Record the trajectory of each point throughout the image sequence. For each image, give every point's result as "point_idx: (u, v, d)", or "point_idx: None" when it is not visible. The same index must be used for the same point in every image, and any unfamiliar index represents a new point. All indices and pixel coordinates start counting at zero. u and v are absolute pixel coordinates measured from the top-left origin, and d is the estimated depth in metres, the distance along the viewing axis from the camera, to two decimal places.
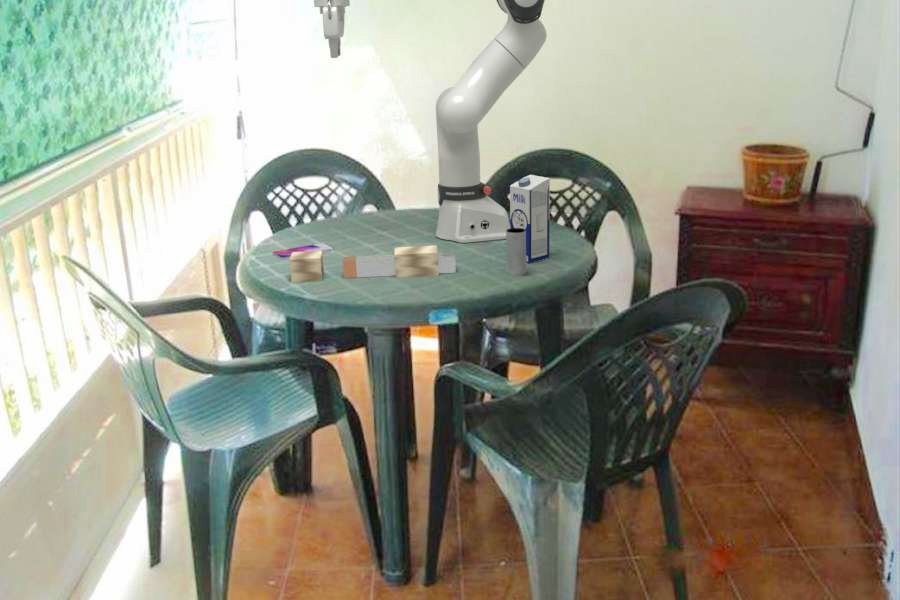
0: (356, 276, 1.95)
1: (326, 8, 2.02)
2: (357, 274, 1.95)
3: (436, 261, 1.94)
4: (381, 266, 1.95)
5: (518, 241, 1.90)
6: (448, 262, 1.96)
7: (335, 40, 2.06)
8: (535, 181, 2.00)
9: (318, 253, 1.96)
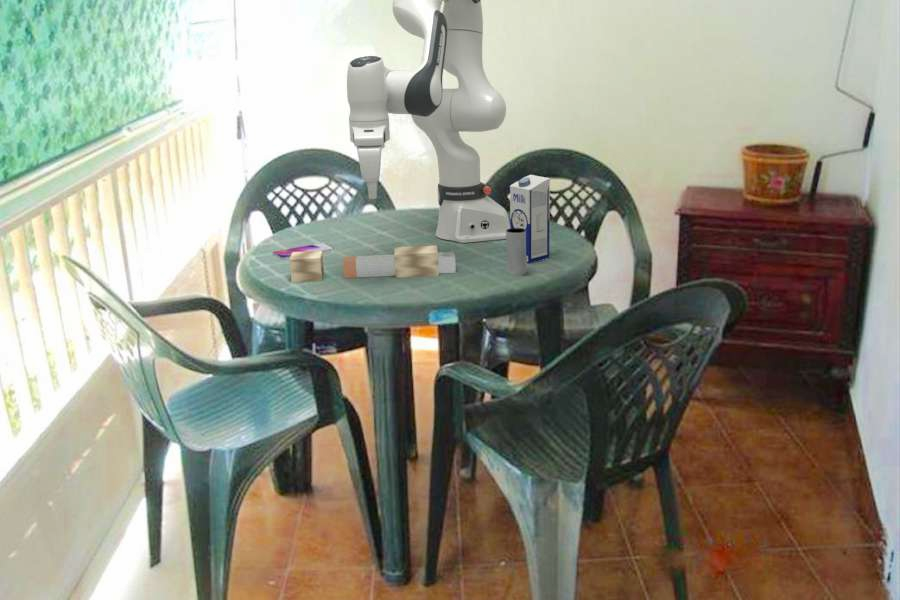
0: (356, 276, 1.95)
1: None
2: (357, 274, 1.95)
3: (436, 261, 1.94)
4: (381, 266, 1.95)
5: (518, 241, 1.90)
6: (448, 262, 1.96)
7: None
8: (535, 181, 2.00)
9: (318, 253, 1.96)
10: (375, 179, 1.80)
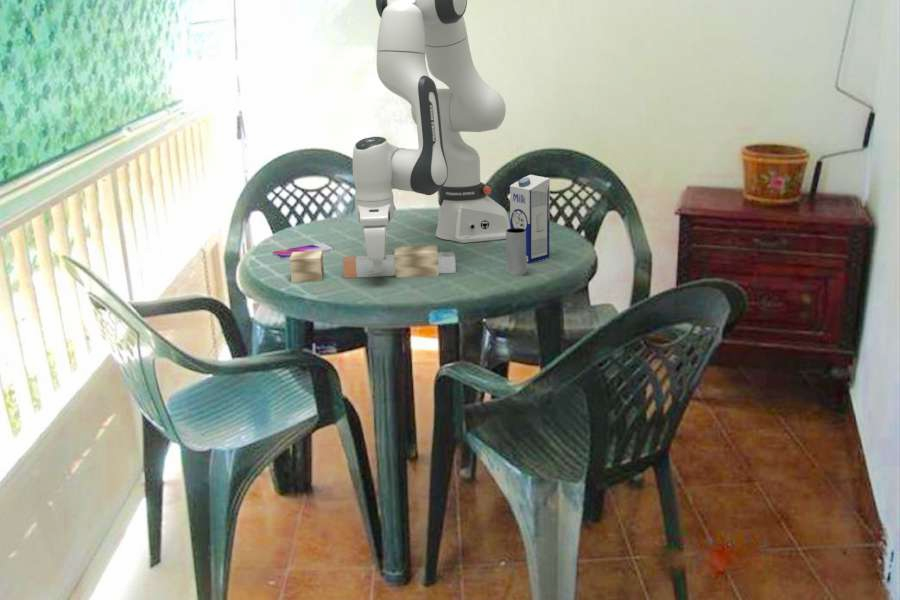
0: (356, 276, 1.95)
1: None
2: (357, 274, 1.95)
3: (436, 261, 1.94)
4: None
5: (518, 241, 1.90)
6: (448, 262, 1.96)
7: None
8: (535, 181, 2.00)
9: (318, 253, 1.96)
10: (380, 258, 1.86)
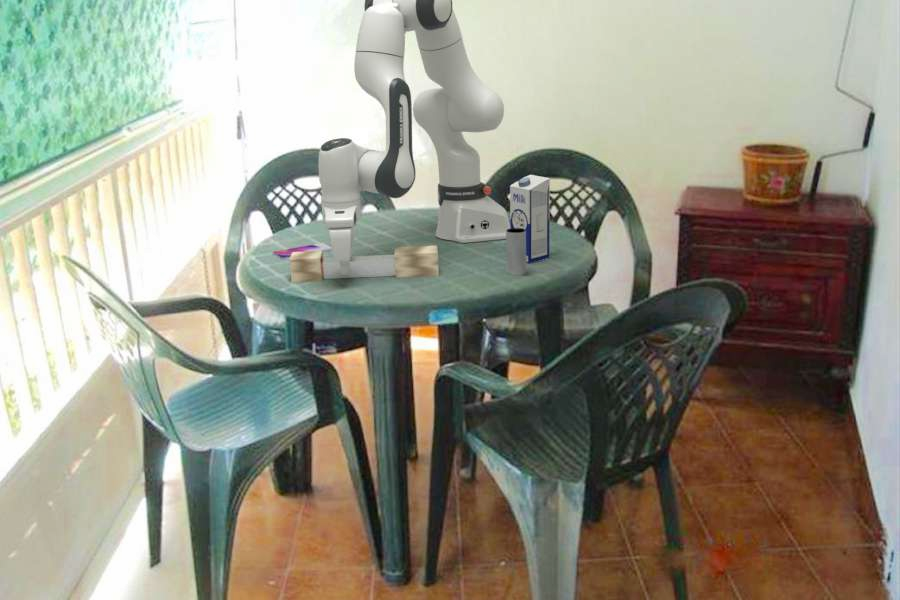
0: (323, 278, 1.95)
1: None
2: (324, 276, 1.95)
3: (436, 261, 1.94)
4: None
5: (518, 241, 1.90)
6: None
7: None
8: (535, 181, 2.00)
9: (318, 253, 1.96)
10: (346, 259, 1.86)
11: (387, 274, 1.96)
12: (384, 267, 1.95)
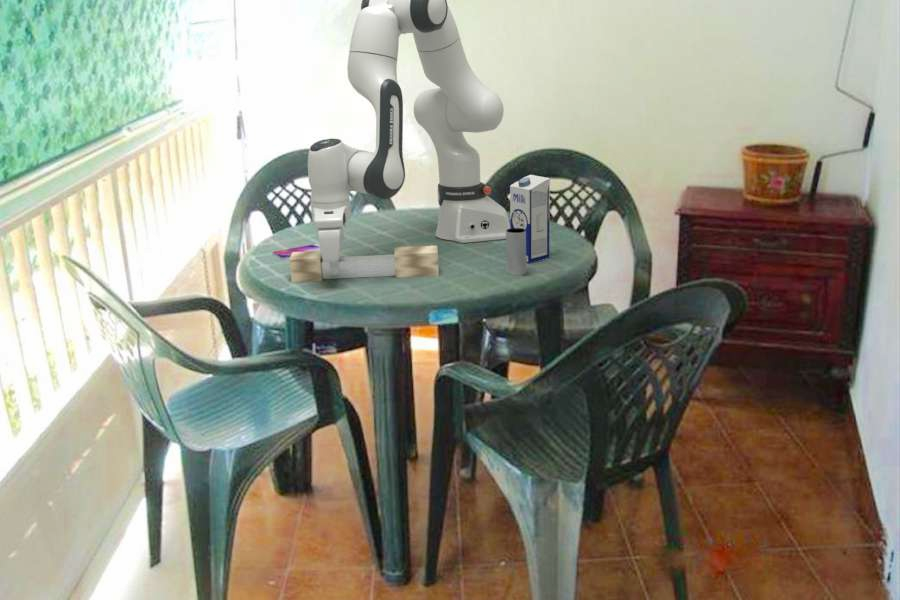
0: None
1: None
2: None
3: (436, 261, 1.94)
4: None
5: (518, 241, 1.90)
6: None
7: None
8: (535, 181, 2.00)
9: (318, 253, 1.96)
10: (335, 260, 1.86)
11: (377, 275, 1.95)
12: (374, 268, 1.95)
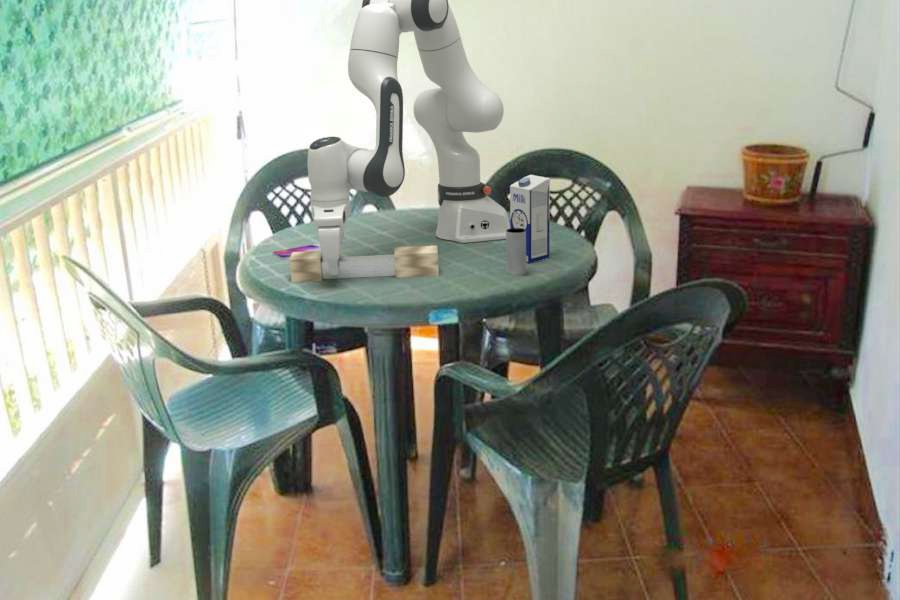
0: None
1: None
2: None
3: (436, 261, 1.94)
4: None
5: (518, 241, 1.90)
6: None
7: None
8: (535, 181, 2.00)
9: (318, 253, 1.96)
10: (335, 258, 1.86)
11: (376, 275, 1.95)
12: (373, 268, 1.95)
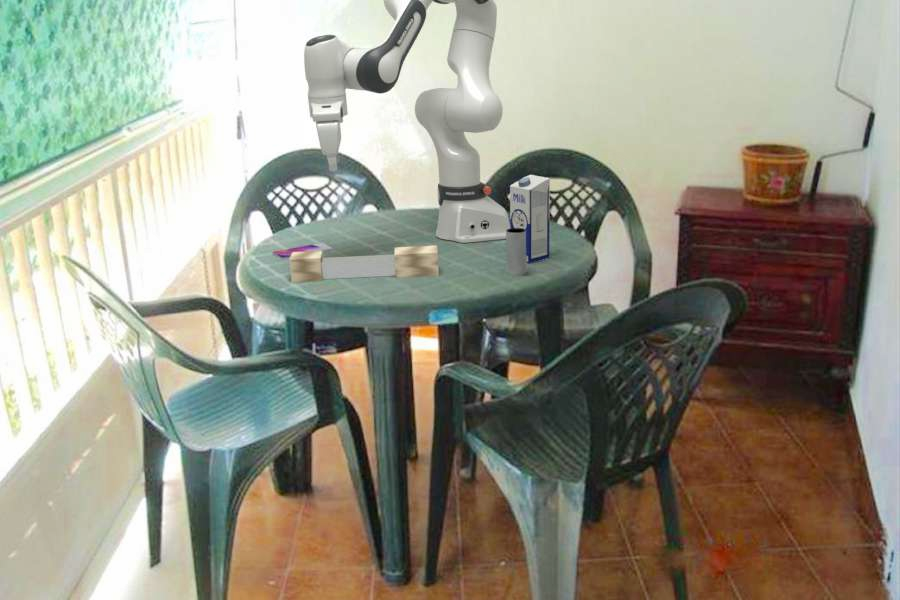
0: None
1: None
2: None
3: (436, 261, 1.94)
4: (337, 268, 1.94)
5: (518, 241, 1.90)
6: None
7: None
8: (535, 181, 2.00)
9: (318, 253, 1.96)
10: (334, 152, 1.91)
11: (376, 275, 1.95)
12: (373, 268, 1.95)
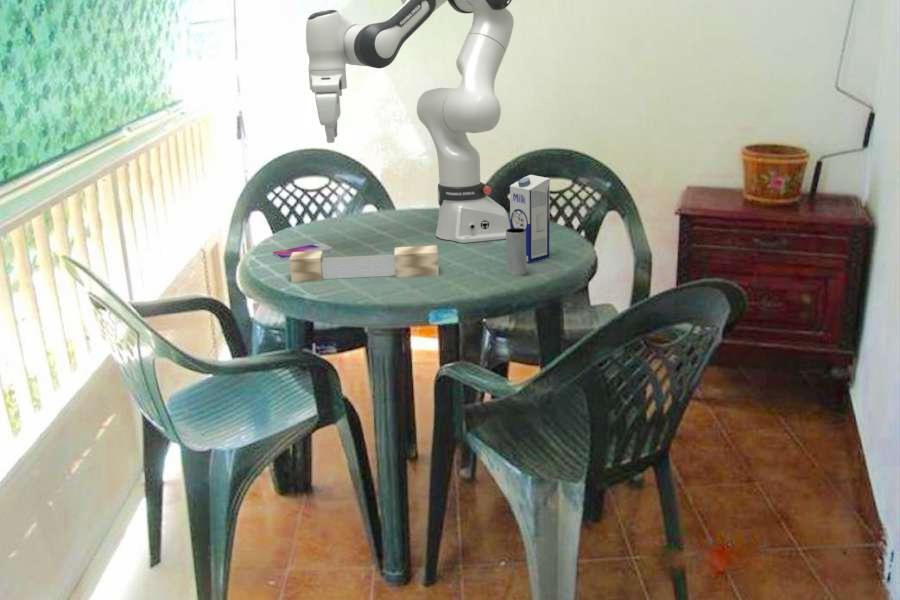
0: None
1: None
2: None
3: (436, 261, 1.94)
4: (337, 268, 1.94)
5: (518, 241, 1.90)
6: None
7: None
8: (535, 181, 2.00)
9: (318, 253, 1.96)
10: (331, 123, 1.96)
11: (376, 275, 1.95)
12: (373, 268, 1.95)
